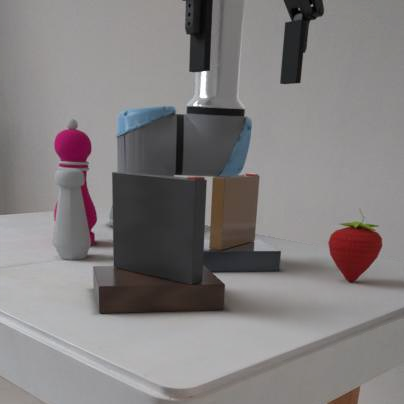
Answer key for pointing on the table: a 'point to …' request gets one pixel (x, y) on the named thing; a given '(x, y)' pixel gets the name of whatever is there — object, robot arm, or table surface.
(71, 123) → the pepper mill
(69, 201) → the salt shaker
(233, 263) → the slate stand
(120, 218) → the dark grey flat slab
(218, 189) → the tan flat block
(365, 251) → the strawberry
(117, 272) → the walnut stand
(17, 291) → the table surface
